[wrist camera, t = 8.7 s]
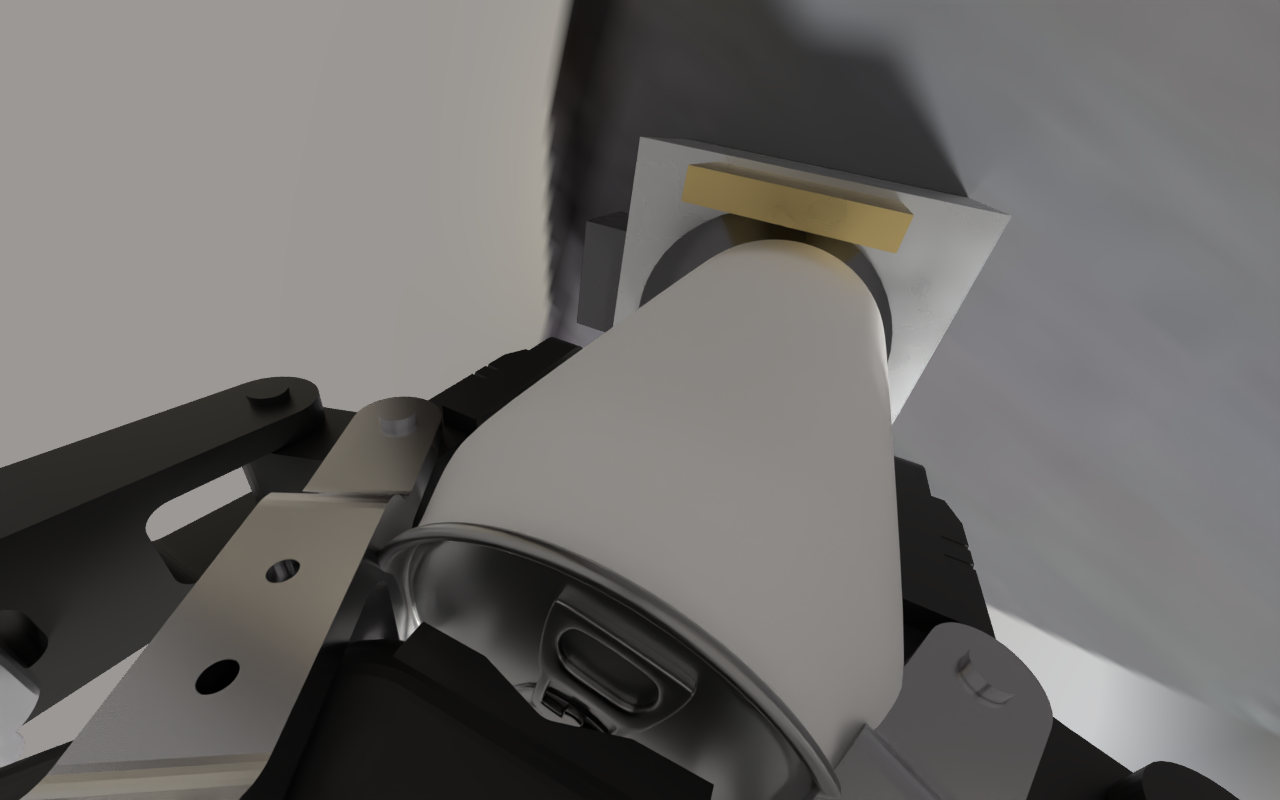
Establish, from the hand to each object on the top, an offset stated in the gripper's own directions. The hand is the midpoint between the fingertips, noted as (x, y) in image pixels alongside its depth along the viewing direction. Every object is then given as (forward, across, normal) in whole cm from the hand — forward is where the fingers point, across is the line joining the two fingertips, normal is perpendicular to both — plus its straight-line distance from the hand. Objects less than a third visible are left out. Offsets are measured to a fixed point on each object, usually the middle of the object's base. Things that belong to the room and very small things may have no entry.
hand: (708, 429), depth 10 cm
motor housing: (+11, 0, 0) cm, 11 cm away
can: (+6, 0, 0) cm, 6 cm away
